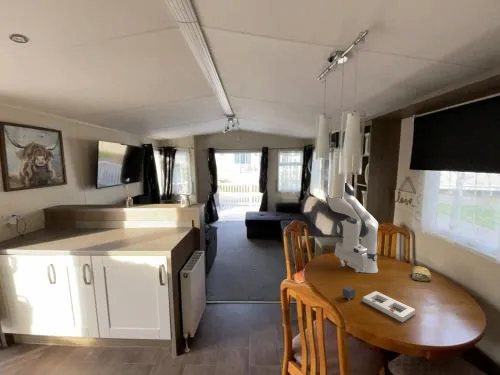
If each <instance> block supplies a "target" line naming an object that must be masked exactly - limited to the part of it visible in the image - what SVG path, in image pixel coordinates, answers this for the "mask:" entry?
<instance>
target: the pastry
mask: <svg viewBox="0 0 500 375" xmlns="http://www.w3.org/2000/svg"><path fill="white" fill-rule="evenodd" d="M410 272H411V280H415V281H419V282H424V283H425V282H426V283H427V282H430V281H431V280H432V274H431V272H430V270H429V269H428V268H426V267H423V266H420V265H416V266H414V267H413V268H411V269H410Z"/></svg>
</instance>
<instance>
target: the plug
mask: <svg viewBox="0 0 500 375" xmlns="http://www.w3.org/2000/svg"><path fill="white" fill-rule="evenodd" d="M355 297H356V288H354V287H352V286H350V285H347V286H345V287H343V288H342V298H344V299H345V298H346V299H347V300H348V301H349V302H350V301H351V300H352V299H353V298H355Z"/></svg>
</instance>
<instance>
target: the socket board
mask: <svg viewBox="0 0 500 375" xmlns="http://www.w3.org/2000/svg"><path fill="white" fill-rule="evenodd" d="M362 303H364V304H366V305H368V306H370V307H372V308H374V309H375V310H378V311H379V312H380V313H382V314H385V315H386V316H389V317H390V318H392V319H394V320H396V321H398V322H400V323H402V324H403V323H405V322H406V321H408V320H409V319H411V318H412V317H414V316H415V315H416V309H415V308H413V307H411V306H409V305H406V304H404V303H402V302H400V301H398V300H396V299H394V298H391V297H390V296H387V295H385V294H383V293H382V292H379V291H377V290H375V291H372V292H371V293H368V294H367V295H365V296H362Z"/></svg>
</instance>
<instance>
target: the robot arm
mask: <svg viewBox="0 0 500 375" xmlns="http://www.w3.org/2000/svg"><path fill="white" fill-rule="evenodd" d="M344 183H345V182H344ZM354 192H355V189H354V187H353V186H352V185H351V183H348V182H346V183H345V192H344V197H342V199H341V198H330V197H329V195H328V191H327V192H326V196H325V201H326V203H327V204H328V206H329V208H330V210H331V211H333V212H336V213H338V214H343V215H345V216H348V217H347V218H345V219H344V220H340V221H339V222H337V224H336V234H337V235H339V236H340V237H343V238H342V242H340V241H338V242H337V241H336V243H335V249H334V256H335V257H336V258H339V262H340V266H341V267H345V266H349V267H350V268H352V269H354V272H356V273H358V272H359V273H367V274H376V273H378V272H379V268H378V263H377V259H378V251H377V250H378V230H379V229H378V228H379V222H378V221H377V219H376V218H374V216H373V215H372V214H371V213H370V212H369V211H367V210H366V208H365V207H364V206H363V204H362V203H360V202H359V200H358V199H357V198H356V197H355V196H354ZM359 238H360V240H359ZM344 261H346V262H347V263H345V262H344Z"/></svg>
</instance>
